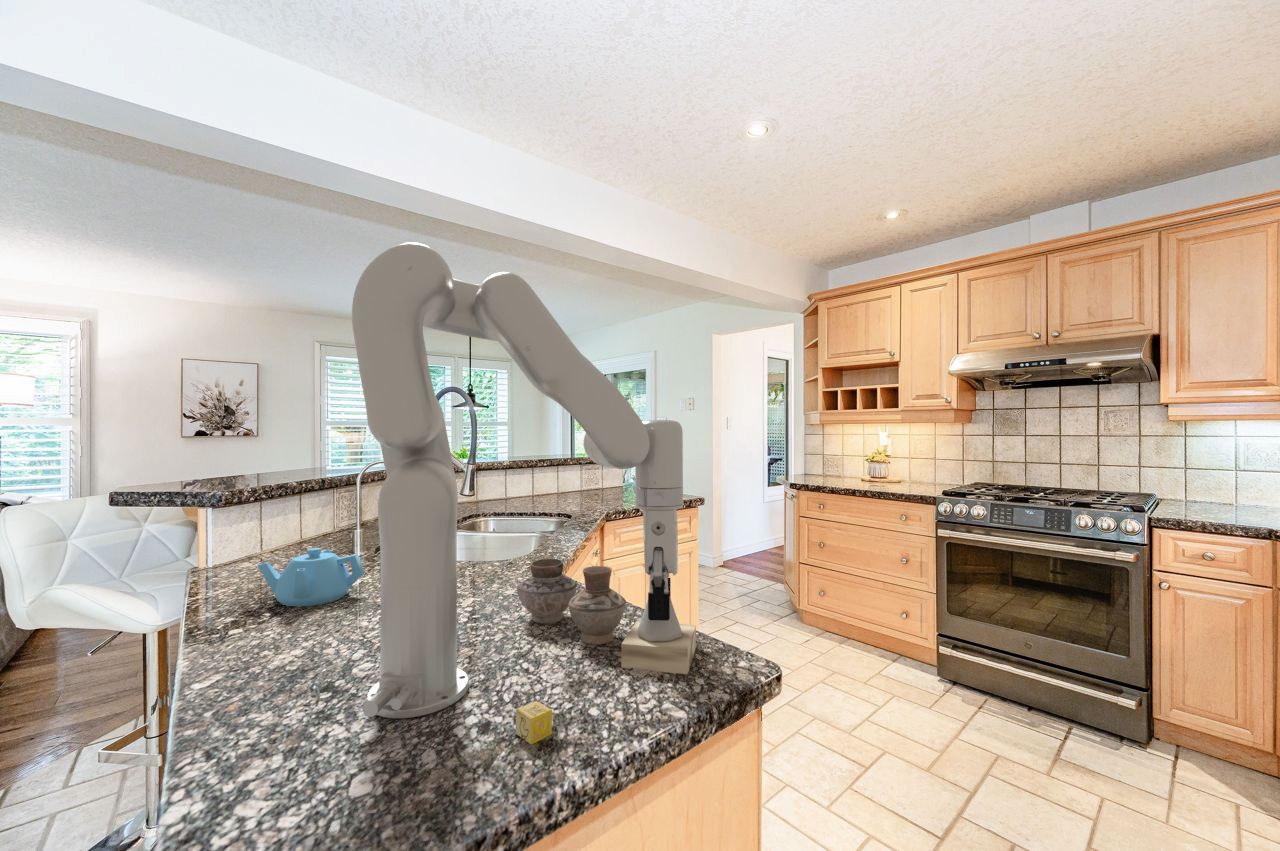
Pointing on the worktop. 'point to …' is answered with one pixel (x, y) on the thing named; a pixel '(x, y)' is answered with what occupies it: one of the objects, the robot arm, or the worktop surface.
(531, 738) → the alphabet block
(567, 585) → the pottery
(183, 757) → the worktop surface
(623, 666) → the maple block
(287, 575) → the teapot
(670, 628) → the flask
